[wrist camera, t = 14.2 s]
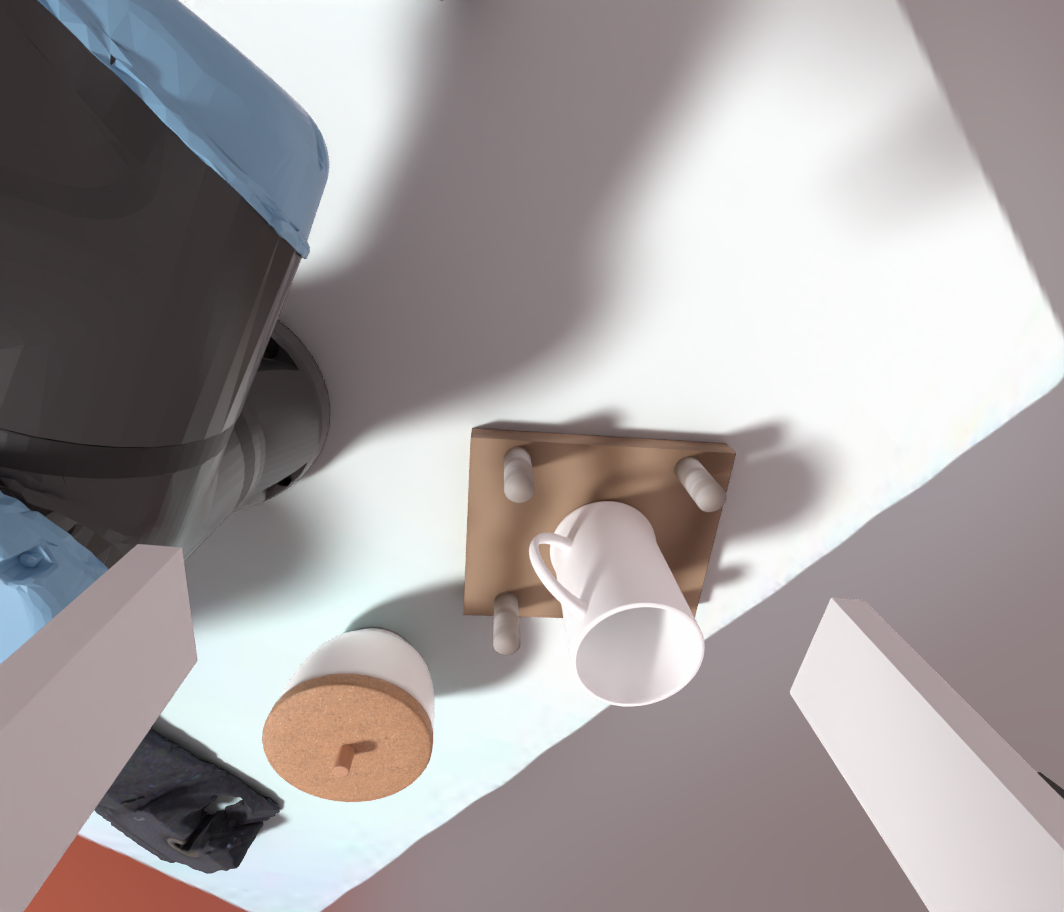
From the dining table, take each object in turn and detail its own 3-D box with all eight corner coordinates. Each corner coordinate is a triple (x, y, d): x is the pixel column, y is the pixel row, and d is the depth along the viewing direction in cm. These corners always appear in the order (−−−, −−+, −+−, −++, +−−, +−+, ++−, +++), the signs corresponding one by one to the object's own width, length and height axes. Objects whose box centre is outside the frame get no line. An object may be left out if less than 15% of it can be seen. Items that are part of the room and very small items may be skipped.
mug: (496, 531, 41) (495, 640, 30) (570, 454, 39) (598, 541, 28) (603, 607, 45) (636, 729, 34) (676, 540, 42) (738, 648, 31)
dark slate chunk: (130, 679, 48) (93, 724, 44) (294, 807, 56) (277, 856, 52) (15, 748, 50) (-31, 797, 46) (188, 861, 58) (163, 912, 54)
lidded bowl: (457, 697, 50) (445, 814, 40) (328, 718, 51) (285, 839, 40) (426, 592, 45) (404, 694, 35) (283, 615, 46) (221, 724, 35)
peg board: (464, 599, 46) (459, 658, 39) (472, 428, 40) (466, 465, 33) (686, 607, 48) (715, 665, 41) (725, 443, 41) (767, 481, 35)
